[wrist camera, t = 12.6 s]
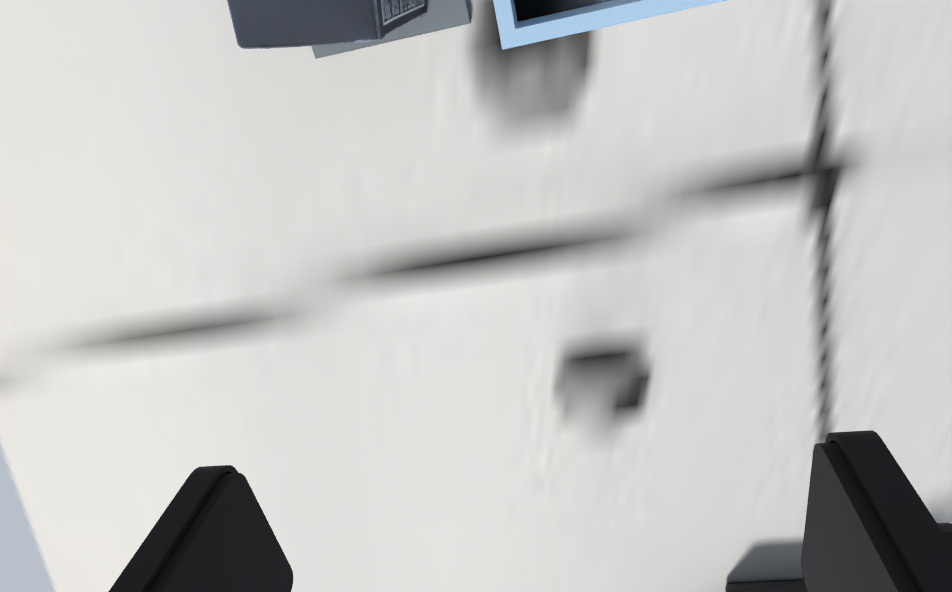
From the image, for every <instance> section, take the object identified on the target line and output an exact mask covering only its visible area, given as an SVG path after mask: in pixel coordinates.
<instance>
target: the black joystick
mask: <svg viewBox="0 0 952 592" xmlns="http://www.w3.org/2000/svg"><path fill="white" fill-rule="evenodd" d="M726 592H808V590H807V587H806V584H805V581H804V580H799V581H777V582H755V583H733V584H727V585H726Z"/></svg>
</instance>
